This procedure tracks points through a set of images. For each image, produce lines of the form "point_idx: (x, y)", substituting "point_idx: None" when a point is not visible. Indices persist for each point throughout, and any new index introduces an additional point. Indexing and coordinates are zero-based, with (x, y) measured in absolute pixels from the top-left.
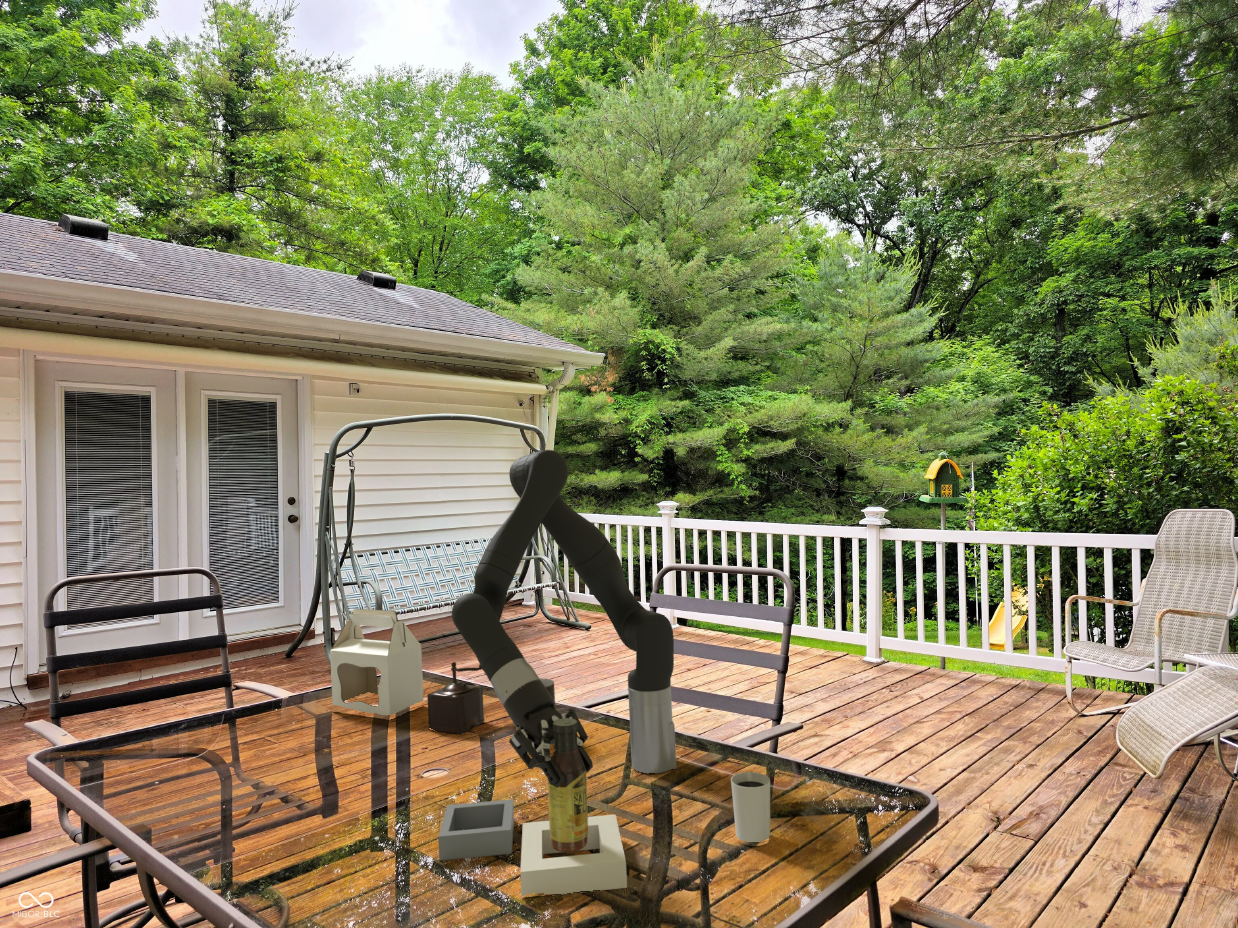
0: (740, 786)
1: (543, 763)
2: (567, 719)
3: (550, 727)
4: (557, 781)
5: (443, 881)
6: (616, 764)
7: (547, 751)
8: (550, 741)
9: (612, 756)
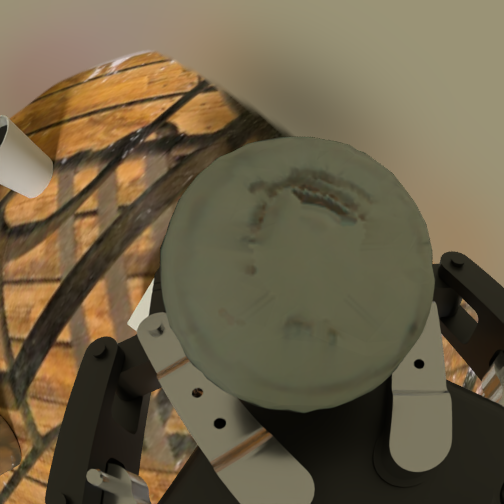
0: (7, 130)
1: None
2: (236, 318)
3: (328, 446)
4: None
5: None
6: (34, 484)
7: None
8: None
9: (32, 499)
